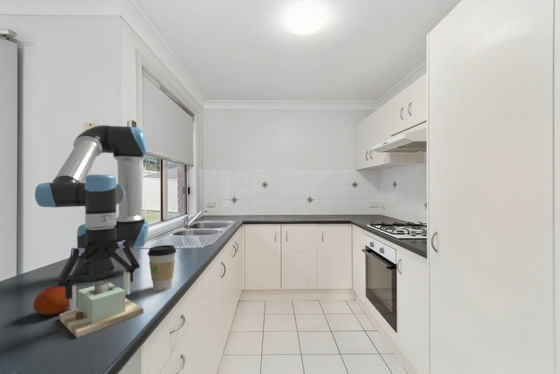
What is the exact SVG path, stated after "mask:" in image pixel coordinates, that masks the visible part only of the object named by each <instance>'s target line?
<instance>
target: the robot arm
mask: <svg viewBox="0 0 560 374" xmlns="http://www.w3.org/2000/svg"><path fill="white" fill-rule="evenodd" d="M72 146H73V149H72V150H71V152H70V154H69V155H68V157H67V159H66V160H65V161H64V163H63V165H62V166H61V168H60V169H59V171H58V173H57V175H56V176H55V177H54V179H53V181H52V182H49V181H47V182H42V183H38V185H37V186H35V187H36V188H35V192H34V199H35V201H36V204H37V205H38V206H39V207H41V208H55V209H56V208H71V207H73V208H75V207H84V208H85V212H84V213H85V215H84V216H85V217H84V219H85V220H84V224H80V225H79V226H78V227H77V235H76V243H77V245H76V247H72V248H71V251H70V256H69V258H68V260H67V262H66V264H65V265H64V267H63V269H62V270H61V272H60V274H59V276H58V278H57V279H56V281H55V286H59V287H65V297H66V299H70V306H69V309H70V311H71V310H72V311H76V309H77V285H76V284H75V283H76V282H81V283H82V282H90V281H98V280H102V279H105V278H108V277H111V276H113V275H115V273H116V266H115V264H114V261H116V262H117V264H119V265H120V266H121V267H122V268H123V269H125V271H123V290H125V295H131V283H132V282H133V281H134V272H135V271H136V270H137V269H139V268H140V267H141V265H140V264H139V262H138V260H137V258H136V257H135V255H134V254H133V252H132V249H138V248H143V247H144V246H145V245H146V242H147V239H148V234H149V233H148V232H149V221H146V218H145V216H144V215H142V210H141V208H142V207H141V205H142V204H141V199H142V198H141V161H142V160H144V155H147V154H148V145H147V140H146V135H145V132H144V130H143V129H142V128H141V127H135V126H122V125H121V126H119V125H107V124H104V125H97V126H93V127H90V128H88V129H86V130H84V131H82V132H80V134H79V135H77V137H76V138H75V140H74V141H73V145H72ZM105 153H106V154H112V156H113V157H112V158H113V159H114V160H116V162H117V178H116V176H115V175H112V174H89V173H90V170H91V169H92V167H93V166H94V162H95V160H96V158H97V157H99V156H101V154H105ZM117 205H118V216H117ZM117 250H122V251H123V253H124V254H125V256H126V258H127V260H128V262H129V263H128V262H127V261H125V260H124V259H123V258H122V257H121V256H120V255H119V254H118V253H116V251H117ZM113 260H114V261H113ZM71 272H72V273H71Z"/></svg>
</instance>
